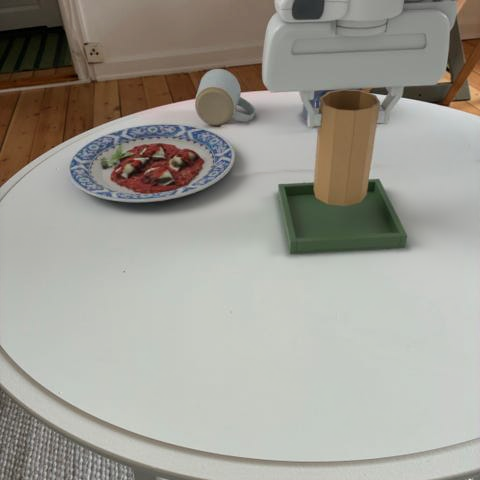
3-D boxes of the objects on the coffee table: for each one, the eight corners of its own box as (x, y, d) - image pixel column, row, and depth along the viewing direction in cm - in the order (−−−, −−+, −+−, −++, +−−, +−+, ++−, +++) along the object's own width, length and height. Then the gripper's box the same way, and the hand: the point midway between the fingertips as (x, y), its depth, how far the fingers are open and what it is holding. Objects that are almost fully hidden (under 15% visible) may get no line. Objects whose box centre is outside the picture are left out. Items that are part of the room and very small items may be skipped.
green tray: (377, 190, 79) (379, 178, 78) (404, 248, 68) (407, 235, 67) (278, 195, 79) (278, 183, 77) (289, 254, 68) (290, 242, 67)
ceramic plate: (266, 157, 88) (266, 140, 85) (163, 233, 72) (161, 214, 70) (147, 124, 99) (144, 108, 97) (36, 184, 83) (30, 166, 81)
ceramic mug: (194, 127, 97) (191, 83, 91) (201, 109, 103) (198, 67, 97) (253, 129, 96) (253, 85, 91) (256, 111, 102) (257, 68, 97)
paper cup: (359, 178, 73) (371, 87, 65) (370, 204, 68) (385, 110, 60) (310, 181, 73) (316, 90, 65) (318, 207, 68) (326, 113, 60)
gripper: (451, -20, 57) (424, 109, 67) (260, -12, 57) (260, 117, 66) (473, -6, 53) (441, 131, 62) (265, 3, 52) (264, 140, 62)
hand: (346, 124), depth 64 cm, fingers closed on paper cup, 6 cm apart
